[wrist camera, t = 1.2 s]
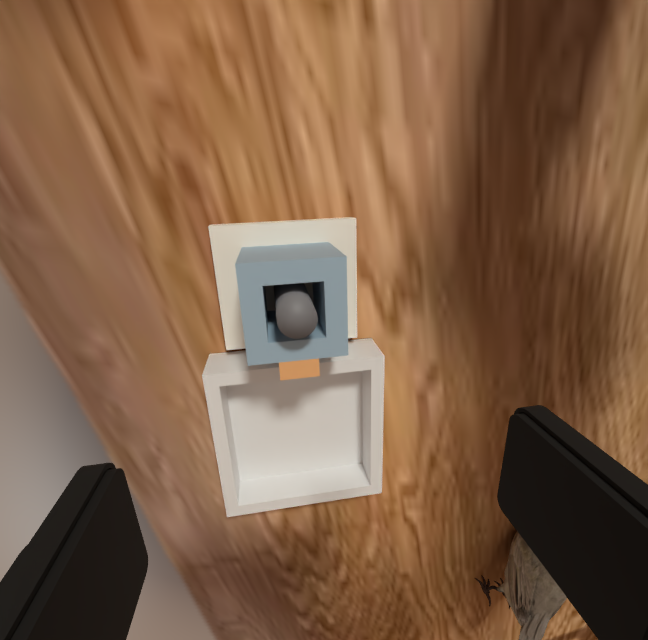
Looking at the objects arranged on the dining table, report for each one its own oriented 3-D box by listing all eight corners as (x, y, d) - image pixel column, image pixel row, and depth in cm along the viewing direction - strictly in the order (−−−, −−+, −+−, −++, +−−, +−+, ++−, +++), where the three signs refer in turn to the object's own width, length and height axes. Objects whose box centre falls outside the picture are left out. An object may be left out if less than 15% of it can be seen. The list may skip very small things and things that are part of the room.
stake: (352, 217, 26) (389, 228, 18) (353, 331, 29) (386, 383, 21) (211, 224, 25) (185, 240, 17) (227, 343, 28) (213, 403, 20)
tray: (371, 338, 30) (384, 356, 26) (370, 464, 34) (381, 492, 31) (209, 354, 28) (202, 375, 25) (230, 484, 32) (227, 517, 29)
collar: (328, 241, 25) (346, 256, 20) (331, 336, 28) (348, 372, 22) (241, 247, 24) (235, 263, 19) (253, 343, 27) (250, 383, 21)
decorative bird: (574, 481, 40) (638, 542, 33) (504, 584, 44) (548, 657, 37) (536, 473, 38) (595, 534, 31) (467, 580, 43) (506, 655, 36)
